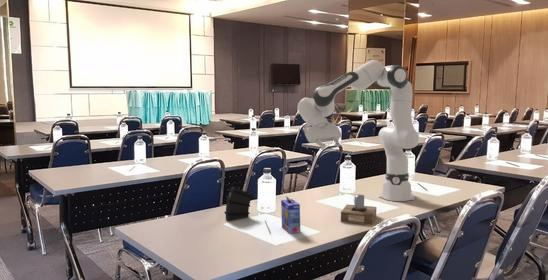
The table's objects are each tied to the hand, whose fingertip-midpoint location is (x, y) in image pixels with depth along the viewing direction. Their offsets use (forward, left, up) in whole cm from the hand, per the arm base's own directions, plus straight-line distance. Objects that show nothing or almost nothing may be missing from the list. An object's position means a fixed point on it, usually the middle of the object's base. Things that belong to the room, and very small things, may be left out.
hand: (331, 146), depth 218 cm
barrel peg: (+8, +15, -32) cm, 36 cm away
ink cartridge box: (+33, -10, -32) cm, 47 cm away
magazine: (+24, -38, -32) cm, 55 cm away
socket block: (+8, +15, -32) cm, 36 cm away
